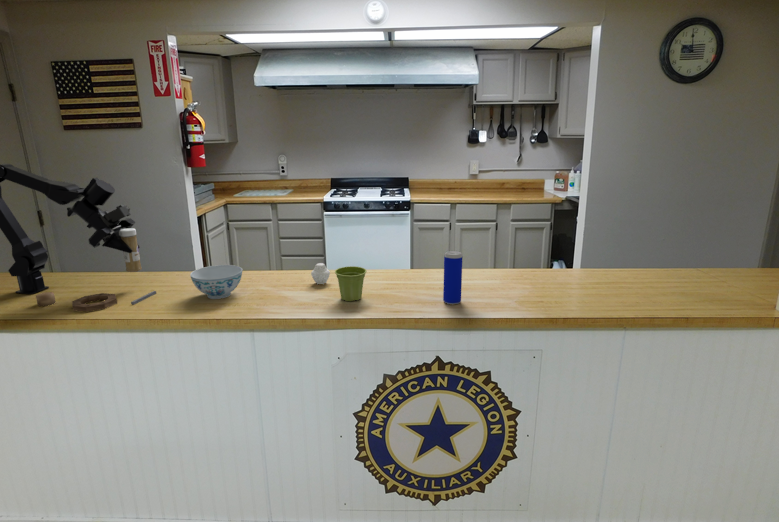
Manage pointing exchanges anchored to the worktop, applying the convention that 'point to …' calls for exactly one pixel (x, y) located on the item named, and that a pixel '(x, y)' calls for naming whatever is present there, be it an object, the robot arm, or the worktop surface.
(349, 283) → the plant pot
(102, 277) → the worktop surface
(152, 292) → the grey rectangular bar
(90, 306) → the walnut ring
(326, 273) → the white owl figurine
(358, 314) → the worktop surface
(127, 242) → the sprinkles bottle
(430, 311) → the worktop surface
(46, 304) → the small wooden bead
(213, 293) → the chinaware
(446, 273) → the beverage can
